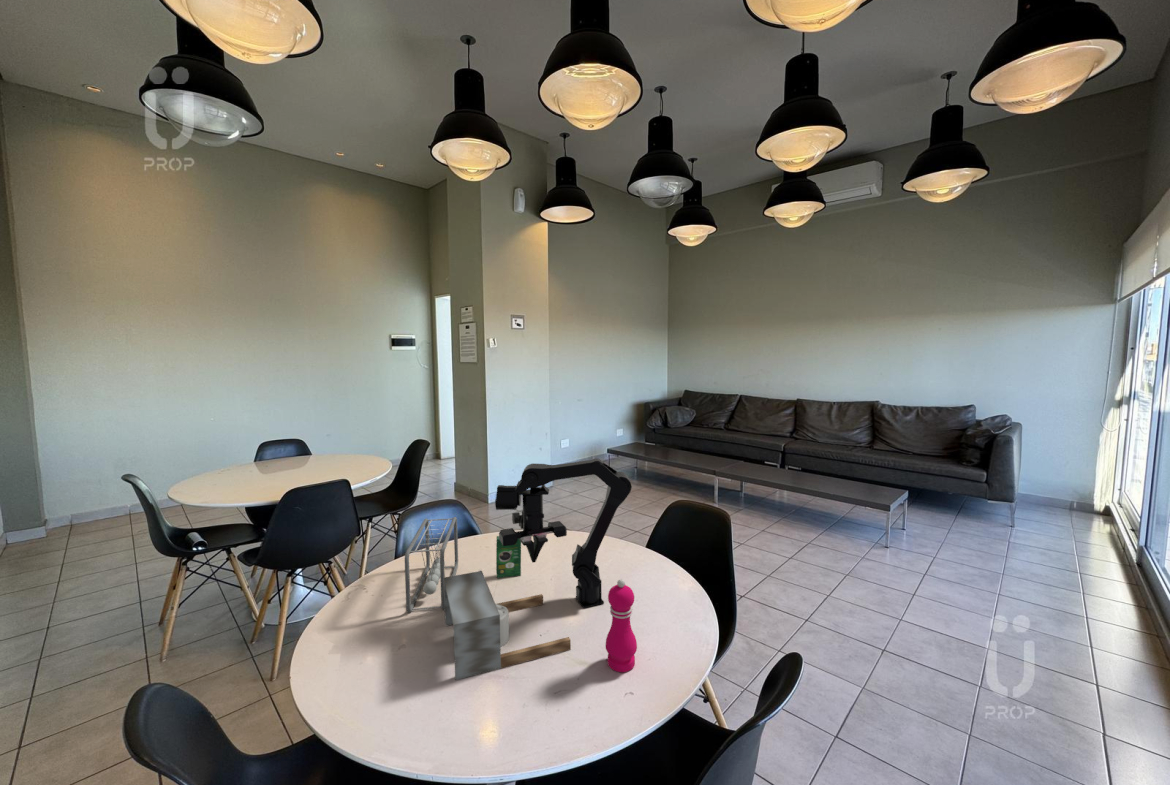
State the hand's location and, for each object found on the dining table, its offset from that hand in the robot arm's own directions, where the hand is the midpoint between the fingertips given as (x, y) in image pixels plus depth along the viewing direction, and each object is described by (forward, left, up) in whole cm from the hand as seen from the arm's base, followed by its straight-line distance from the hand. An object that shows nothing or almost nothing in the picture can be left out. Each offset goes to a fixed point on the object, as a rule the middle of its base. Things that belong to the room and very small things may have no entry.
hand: (533, 561), depth 131 cm
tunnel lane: (+11, +13, -12) cm, 21 cm away
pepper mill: (-11, +34, -12) cm, 38 cm away
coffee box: (+3, -19, -12) cm, 23 cm away
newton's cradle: (+26, -20, -12) cm, 35 cm away
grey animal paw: (+17, +13, -12) cm, 25 cm away
